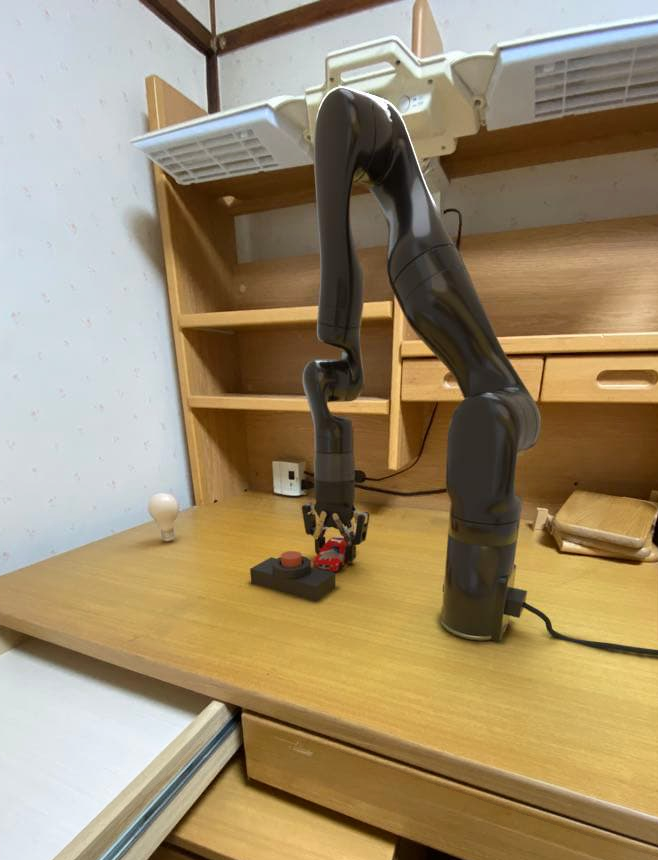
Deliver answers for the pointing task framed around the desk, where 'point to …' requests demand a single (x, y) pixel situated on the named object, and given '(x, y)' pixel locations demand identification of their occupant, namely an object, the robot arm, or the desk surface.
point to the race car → (331, 555)
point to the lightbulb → (164, 513)
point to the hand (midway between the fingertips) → (335, 558)
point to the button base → (293, 578)
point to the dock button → (291, 559)
